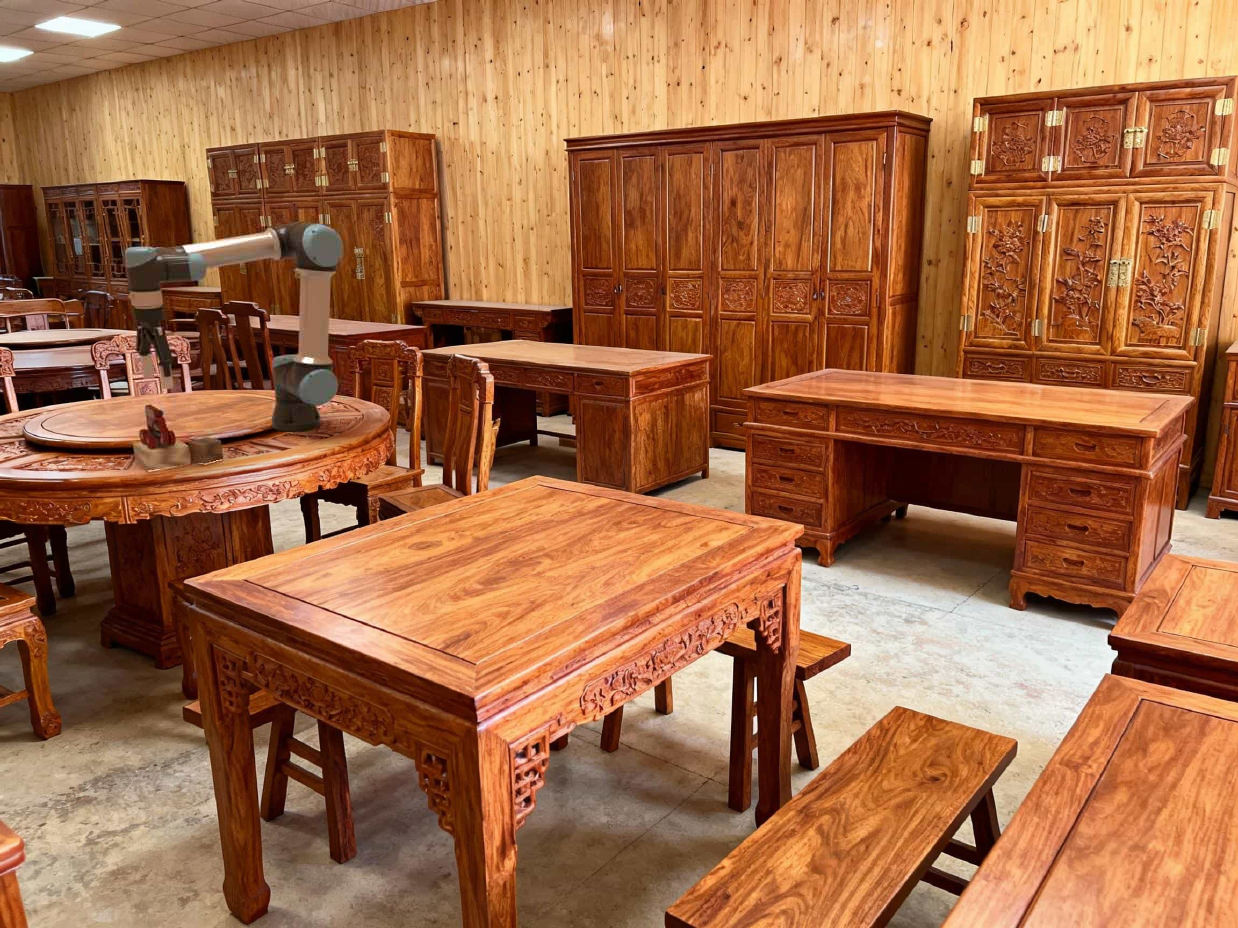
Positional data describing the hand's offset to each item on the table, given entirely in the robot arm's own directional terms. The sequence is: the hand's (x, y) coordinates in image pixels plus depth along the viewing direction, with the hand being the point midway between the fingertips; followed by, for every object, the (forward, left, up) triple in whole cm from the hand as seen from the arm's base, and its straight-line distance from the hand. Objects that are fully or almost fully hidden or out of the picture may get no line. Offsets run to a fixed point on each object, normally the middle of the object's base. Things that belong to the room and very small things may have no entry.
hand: (158, 383), depth 253 cm
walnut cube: (-8, +6, -23) cm, 25 cm away
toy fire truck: (+2, 0, -17) cm, 18 cm away
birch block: (+2, +1, -23) cm, 23 cm away
